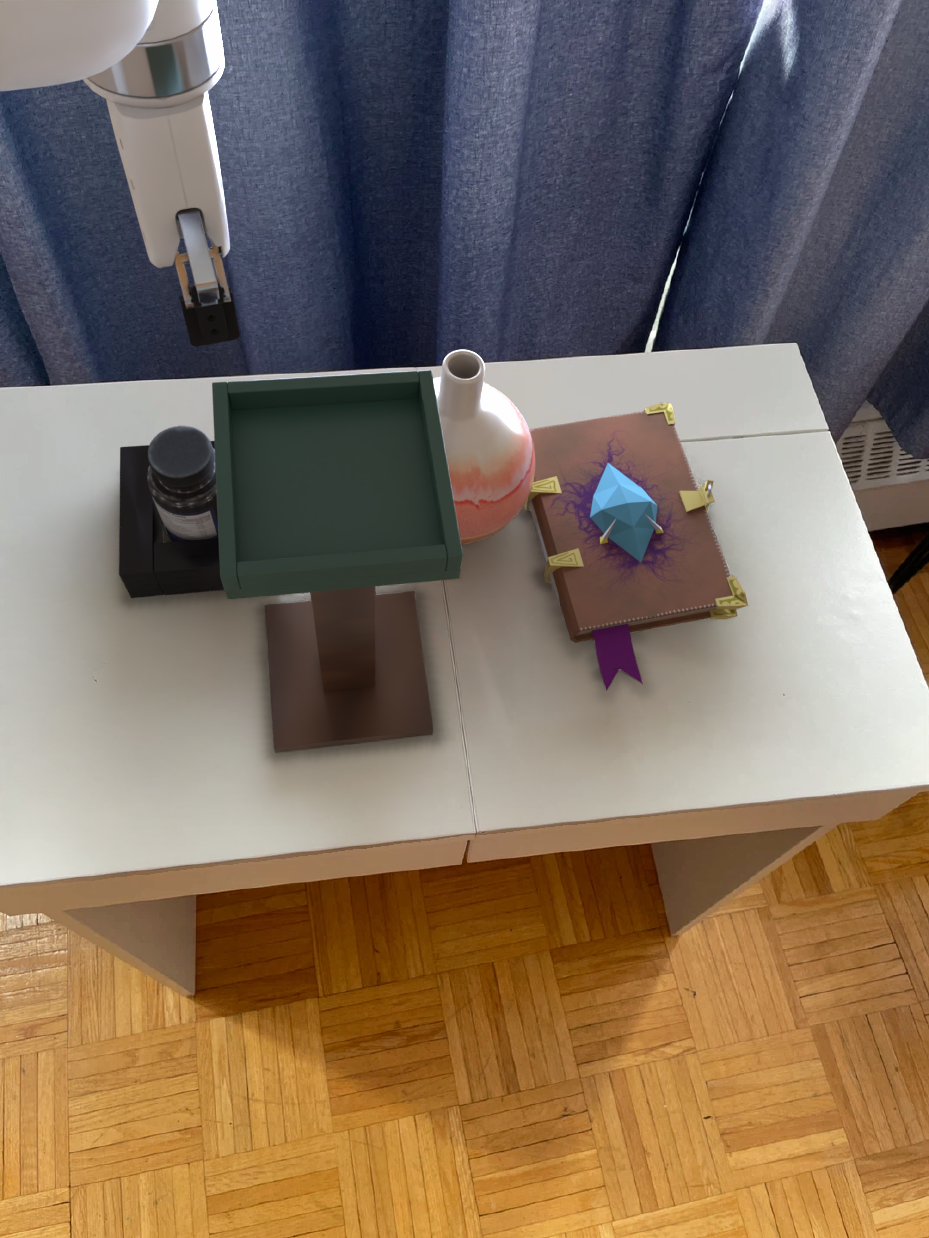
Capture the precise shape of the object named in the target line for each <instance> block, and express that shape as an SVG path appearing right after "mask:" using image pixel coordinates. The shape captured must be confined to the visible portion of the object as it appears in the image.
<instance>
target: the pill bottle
mask: <svg viewBox="0 0 929 1238" xmlns="http://www.w3.org/2000/svg"><path fill="white" fill-rule="evenodd" d="M211 441H212V440H210V438H209V437H208V435H206V433H205V432H203V431H202V430H200V429H199V428H196V427H193V426H188V425H176V426H175V425H174V426H171V427H168V428H166V429H163V430H161V431H160V432H159V433H157V434H156V435H155V436H154V437H153V439H151V441H150V443H149V444H148V445H149V448H148V452H147V453H148V461H149V464H150V466H149V469H148V474H147V482H148V487H149V490H150V492H151V495H152V497H153V500H154V502H155V505H156V507H157V509H158V512H159V514H160V517H161V519H162V522H163V528H164V529H165V532H166V534H167V537H168V539H169V542H175V541H187V540H200V539H212V538H219V536H218V512H217V489H216V465H215V449H213V447H212V444H211Z"/></svg>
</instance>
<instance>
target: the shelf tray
mask: <svg viewBox="0 0 929 1238" xmlns="http://www.w3.org/2000/svg"><path fill="white" fill-rule="evenodd" d="M433 378H434V374H433V371H432V369H425V370H423V369H421V370H404V371H403V370H402V371H387V372H385V371H384V372H370V373H354V374H353V373H352V374H338V375H337V374H335V375H320V376H304V377H285V378H270V379H269V378H267V379H253V380H236V381H215V382H212V383H211V392H212V394H211V395H212V414H213V438H214V440H213V441H214V442H215V465H216V489H217V512H218V536H219V559H220V577H221V581H222V584H223V587H224V590H223V591H224V593H225V596H226V599H227V600H228V601H229V600H241V599H253V598H264V597H265V598H266V597H274V596H283V595H284V596H286V595H297V594H307V593H309V594H310V592H320V591H331V590H342V589H353V588H364V587H375V586H376V587H384V586H385V587H386V586H395V585H406V584H417V583H418V584H419V583H428V582H429V583H430V582H439V581H451V580H459V579H460V577H461V573H462V572H461V571H462V565H463V558H464V553H463V546H462V545H461V540H460V534H459V528H458V522H457V516H456V510H455V504H454V498H453V492H452V486H451V480H450V474H449V468H448V463H447V457H446V451H445V445H444V439H443V433H442V427H441V421H440V415H439V409H438V403H437V397H436V391H435V385H434V380H433Z"/></svg>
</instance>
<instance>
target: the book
mask: <svg viewBox="0 0 929 1238" xmlns="http://www.w3.org/2000/svg"><path fill="white" fill-rule="evenodd" d="M675 425H676V417H675V409H674V407H673V406H672V404H671V403H670V402H659V403H655V404H653V405H650V406H647V407H645V408H644V410H641V411H634V412H628V413H621V414H616V415H609V416H602V417H597V418H596V417H595V418H591V419H584V420H577V421H570V422H564V423H558V424H557V423H556V424H551V425H546V426H538V427H532V428H529V430H530V433H531V436H532V440H533V444H534V450H535V474H534V481H533V484H532V488H531V491H530V494H529V496H528V498H527V500H526V502H525V504H524V506H523V507H524V510H525V512H528V511H529V512H530V514H531V518H532V521H533V524H534V527H535V530H536V536H537V538H538V543H539V545H540V549H541V553H542V557H543V560H544V564H545V569H544V573H543V576H544V580H545V583H546V584H547V583H549V584H550V585H551V588H552V592H553V595H554V598H555V601H556V603H557V605H558V608H559V610H560V611H561V613H562V617H563V621H564V624H565V627H566V630H567V634H568V638H569V640H570V641H571V642H573V643H575V644H577V643H584V642H589V641H593V642H594V649H595V653H596V658H597V663H598V667H599V670H600V675H601V678H602V681H603V685H604V688H605V691H606V692H607V691H608V690H609V688H610V686H611V685H612V683H613V681H614V680H615V678H616V676H617V674H618V673H619V671H621V672H623V673H624V674H626V675H628V676H629V677H630V678H632V679H633V680H635V681H637V682H638V683H640V684H641V685H644V683H643V679H642V676H641V673H640V670H639V667H638V662H637V659H636V655H635V650H634V646H633V640H632V635H631V634H632V633H639V632H643V631H649V630H652V629H659V628H664V627H670V626H675V625H676V626H677V625H680V624H686V623H693V622H696V621H703V620H707V619H708V620H709V619H710V620H729V619H732V618H733V619H734V618H736V617H738V615H739V614H738V611H737V610H739V609H741V608H746V607H748V606H749V604H748V603H749V602H748V598H747V594H746V591H745V589H744V588H743V587H742V585H741V583H740V582H739V580H738V579H737V577H736V575H731V573H730V569H729V568H728V564H727V562H726V559H725V557H724V554H723V552H722V548H721V546H720V543H719V541H718V538H717V536H716V533H715V530H714V527H713V525H712V522H711V520H710V517H709V513H708V509H709V505H710V504H713V503H715V502H716V500H715V498H714V497H715V496H714V495H713V492H712V489H713V487H714V482H715V481H714V480H709V479H707V480H706V481H705V483H704V484H701V485H700V486H699V487H698V485H697V484H698V483H697V482H696V480H695V476H694V474H693V470H692V469H691V466H690V463H689V461H688V458H687V456H686V453H685V450H684V448H683V447H684V446H683V445H682V442H681V440H680V436H679V433H678V431H677V429H676V426H675Z"/></svg>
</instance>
